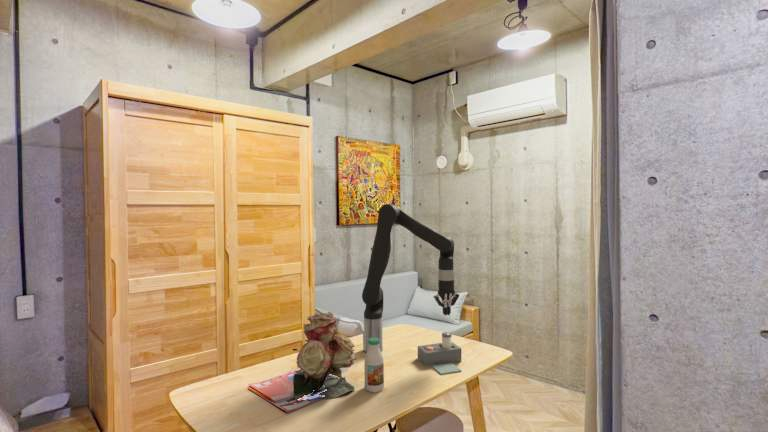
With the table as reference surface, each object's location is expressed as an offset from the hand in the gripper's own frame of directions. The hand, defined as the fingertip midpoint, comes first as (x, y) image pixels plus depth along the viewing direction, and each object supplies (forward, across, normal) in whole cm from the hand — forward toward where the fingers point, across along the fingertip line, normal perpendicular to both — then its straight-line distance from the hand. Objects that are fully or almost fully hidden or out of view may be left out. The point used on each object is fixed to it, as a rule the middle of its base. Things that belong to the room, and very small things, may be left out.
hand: (446, 314), depth 190 cm
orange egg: (+21, +9, 0) cm, 23 cm away
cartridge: (+21, 0, 0) cm, 21 cm away
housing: (+21, +4, 0) cm, 22 cm away
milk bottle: (+21, +42, +18) cm, 50 cm away
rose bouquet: (+21, +60, +9) cm, 65 cm away
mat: (+21, +6, +11) cm, 25 cm away
